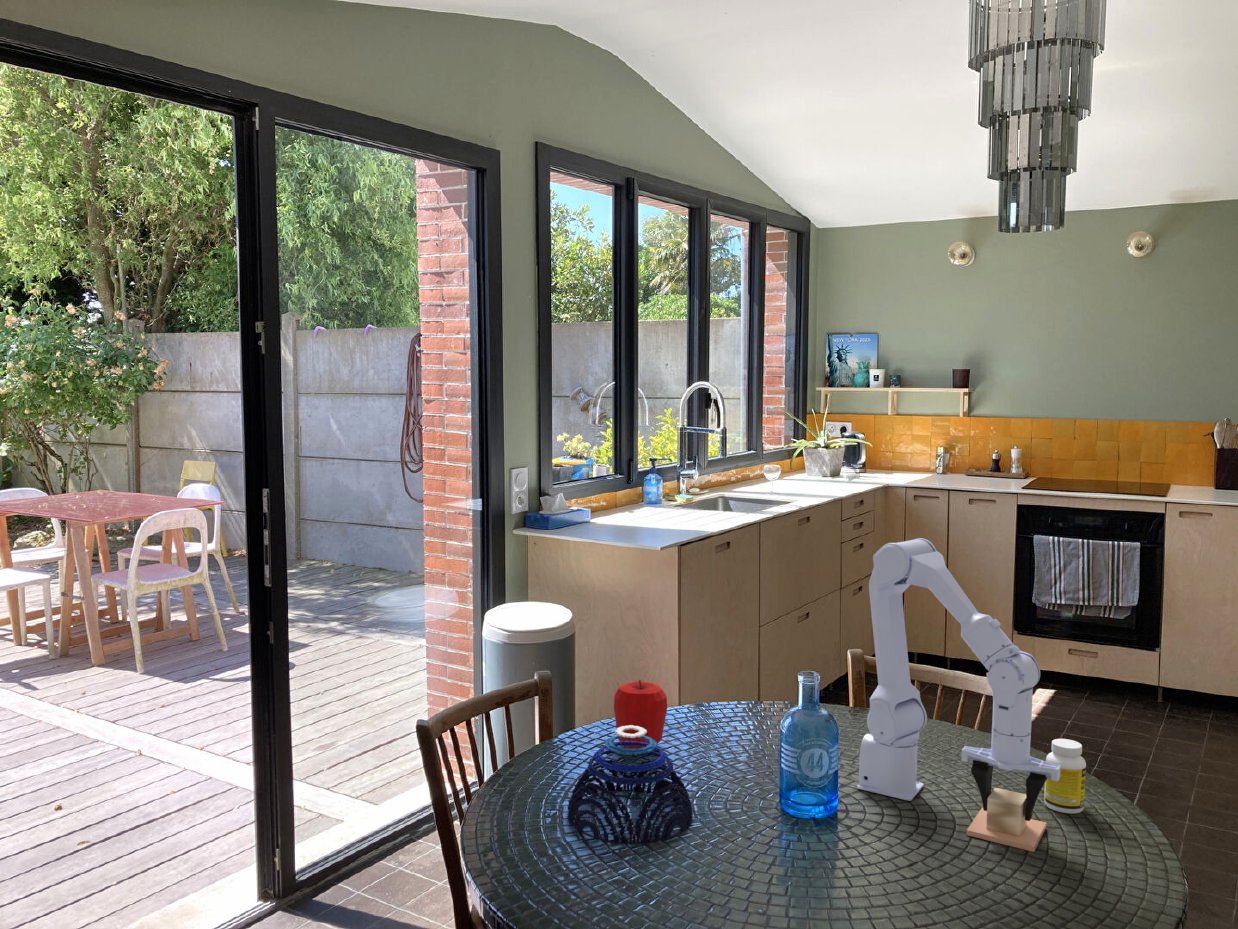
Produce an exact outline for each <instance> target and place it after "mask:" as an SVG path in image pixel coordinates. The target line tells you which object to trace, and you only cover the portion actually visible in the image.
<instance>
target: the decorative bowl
mask: <svg viewBox="0 0 1238 929" xmlns="http://www.w3.org/2000/svg"><path fill="white" fill-rule="evenodd" d="M629 729H634V730H637V731H639V732H637V733H635V734H630V733H628V734H627V733H624V730H629ZM613 732H614V733H615V734H616V735H613V736H610V737H609V738H607V739H606V741H604V746H602V747H600V748H598V750H596V751H595V752H594V755H593V756H591V758H589V761H587V764H588V765H587V768H585V769H584V772H582V774H581V776H580V777H579V779H577V780H578V781H577V782H576V783H575V785H574V788H573V789H572V791H571V792H572V794H571V795H570V798H569V801H568V805H567V810H568V813H567V818H568V821H569V824H570V825H571V826H573V827H574V829H575V830H576V831H577V832H579V833H581V834H584V835H586V836H588V837H591V838H593V839H595V840H596V841H597V840H598V841H602V842H607V843H608V842H609V843H612V844H613V843H614V844H621V845H625V844H629V845H632V844H633V845H634V844H637V845H639V844H641V845H642V844H648V843H649V844H651V843H657V842H660V841H664V840H665V841H666V840H669V839H671V838H675V837H676V836H678V835H680V834H683V832H684V831H686V830H687V828H688V827H689V826H690V825H691V823H692V821H693V806H692V802H691V799H690V793H688V792H689V791H687V789H686V786H685V783H683V781H682V778H681V777H680V775H678V774H677V772H676V771H674V763H673V762H672V761H671V759H670V758H669V757H668V754H667V753H666V751H664V750H662V748H661V747H659V746H658V744H657V742H655V741H654V740H653V739H652V738H650V737H647V736H644V735H645V734H646V733H647V730H646V729H644V728H642V727H639V726H633V725H629V726H622V727H619V728H617V727H616V730H614V731H613ZM621 737H622V738H623V737H627V738H636V737H638V738H644V739H645V740H647V741H649V743H644V742H636V741H635V742H634V741H627V740H626V741H624V742H623V741H622V742H620V741H616V740H618V738H621ZM625 745H635V746H636V745H637V746H644V747H642V748H625V747H624V746H625ZM621 746H622V747H621ZM604 750H605V751H604ZM654 750H656V751H654ZM610 754H611V755H613V754H619V755H620V754H622V755H626V756H632V755H635V756H637V755H642V754H643V755H650V756H652V755H653V756H655V757H657V758H656V759H654V760H651V759H648V760H642V761H641V762H638V763H637V764H636V763H635V764H624V763H621V762H618V761H615V760H614V759H613V758H612V759H606V757H605V756H604V755H607V756H608V755H610ZM594 762H595V763H594ZM666 764H667V765H666ZM604 769H605V770H606V771H608V773H611V775H610V774H608V773H606V772H605V770H604ZM629 772H630V774H627V773H629ZM618 773H619V774H620V775H621V776H619V775H618ZM602 780H603V781H604V782H603V781H602ZM593 781H595V782H596V783H597V784H596V783H594V782H593ZM604 783H605V784H604ZM653 783H654V786H653V787H652V785H653ZM615 784H616V785H615ZM646 784H647V786H646ZM621 785H623V786H621ZM634 785H635V786H634ZM652 788H653V789H652ZM645 789H646V790H645ZM626 791H627V792H639V793H640V792H643V793H644V792H645V793H647V794H651V796H648V798H647V799H646V801H644V803H643V805H642V808H640V810H639V813H638V815H637V818H636V822H635V826H634V827H633V825H634V822H633V819H632V818H631V816H632V815H631V814H630V812H629V811H628V806H626V804H625V803H624V802H623V801H622V799H620V798H619V797H617V796H618V794H616V792H626ZM605 793H606V794H608V795H609V796H610V797H612V799H613V800H615V802H616V803H614V802H613V801H612V800H611V799H610V797H607V796H603V794H605ZM583 797H584V798H583ZM591 797H597V798H599V799H601V800H602V801H603V802H604V804H602V802H601V801H598V800H595V799H593V798H591ZM670 801H672V802H673V803H670V804H666V802H670ZM654 803H656V805H655V806H654V808H653V809H652V810H651V812H650V813H649V816H648V818H647V821H646V823H645V819H646V817H647V813H648V810H649V809H651V807H652V806H653V804H654ZM677 804H678V806H675V805H677ZM584 805H593V806H595V807H596V808H597V809H598V810H599V812H602V814H603V815H604V816H603V819H604V821H605V823H606V825H607V826H609V827H610V829H609V832H611V833H610V835H611V836H613V839H609V833H608V831H607V828H606V825H605V824H604V822H603V820H602V818H600V817H599V815H598V814H597V813H596V812H593V811H591V810H588V809H583V810H580V811H579V809H580V808H581V806H584ZM604 805H606V806H607V808H608V810H609V812H611V814H612V815H613V817H614V819H615V821H617V823H616V824H617V826H618V829H619V834H618V830H616V828H615V827H614V823H613V821H612V818H610V816H609V814H608V810H607V808H606V807H604ZM667 808H670V810H668V811H667V812H664V811H665V810H666V809H667ZM617 809H618V810H619V812H620V813H619V812H618V810H617ZM578 811H579V812H578ZM675 811H679V812H677V813H675V814H672V813H674V812H675ZM577 812H578V813H577ZM663 813H664V814H663ZM670 814H672V815H670ZM586 815H589V816H591V817H593V818H595V820H596V821H597V823H598V825H600V828H601V830H602V832H603V836H602V837H600V836H601V835H600V833H599V832H600V831H599V829H598V827H597V825H596V823H594V822H593V821H590V820H587V819H585V818H583V819H581V818H582V817H583V816H586ZM660 817H661V819H660V822H659V823H658V821H659V818H660ZM668 817H669V818H668ZM654 818H655V820H654ZM622 819H623V820H624V822H625V824H627V826H626V825H624V824H623V820H622ZM666 819H667V821H666ZM653 820H654V821H653ZM652 821H653V822H652ZM665 821H666V823H665ZM644 823H645V824H646V825H645V826H644V830H643V828H642V825H644ZM657 823H658V825H657ZM664 823H665V824H664ZM662 826H663V827H662ZM676 826H677V827H678V828H679V830H678V831H676V832H674V833H673V831H674V829H675V827H676ZM586 827H588V828H589V830H590V831H591V832H592V834H590V833H587V832H585V830H584V829H585V828H586ZM633 828H634V829H635V833H634V829H633ZM625 829H626V831H627V834H628V837H629V839H628V838H626V835H624V834H625ZM661 829H662V831H661ZM642 830H643V834H642V838H641V833H642ZM649 830H650V832H649ZM660 833H661V837H660ZM672 833H673V834H672Z"/></svg>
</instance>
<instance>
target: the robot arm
mask: <svg viewBox="0 0 1238 929" xmlns="http://www.w3.org/2000/svg"><path fill="white" fill-rule="evenodd" d="M872 560H873V568H872V571H871V572H872V573H871V575H870V578H869V581H868V592H869V593H868V595H869V604H870V614H871V623H872V624H871V625H872V632H873V633H872V634H873V635H872V636H873V644H874V653H875V654H874V655H875V656H874V657H875V666H876V675H877V676H876V677H877V683H878V685H877V687H875V690H874V691H873V693H872V695H871V696H870V697H869V710H868V714H867V716H866V717H867V718H866V723H867V724H866V725H867V729H868V731H869V733H865V735H864V736H863V738H862V739H861V742H860V748H859V761H858V762H859V764H858V766H859V768H858V784H857V786H856V787H857V789H858V790H862V791H867V792H870V793H876V794H879V795H883V796H886V797H887V796H888V797H892V798H895V799H900V800H904V801H909V802H910V801H912V800H913V799H914V798H915V796H916V795H918V793H920V791H921V790H922V788H923V787H924V783H923V782H920V781H917V776H918V775H917V774H918V773H917V771H918V749H919V748H918V746H919V745H918V744H919V739H920V732H921V731H922V730H923V729H924V728H925V727H926V725H927V721H928V715H927V711H926V709H925V707H924V705H923V703H922V700H921V692H920V691H919V690H918V689H917V687H916V686H914V685H913V684H912V682H911V674H910V673H911V672H910V663H909V655H908V654H909V653H908V651H909V650H908V641H907V633H906V623H905V612H904V604H903V593H905V591H906V590H907V589H908V588H909V587H910V586H915V587H921V588H924V589H928V590H929V591H930V592H931V593H932V594H933V596H934V597H935V598H936V599H937V600H938V601H939V602H940V603H941V604H942V606H944V608H946V610H947V611H948V612H949V613H950V614H951V615H952V617H953V618H954V619H955V620H956V621H957V622H958V623H959V624H960V637H961V638H962V640H963V641H964V642H965V643H966V645H967V646H968V647H969V648H970V650H971V651H972V653H973V654H974V655H975V657H976V658H977V659H978V661H979V662H981V664H982V665H983V666H984V667H985V669H986V670H987V672H986V673H985V674H986V680H987V683H988V685H989V687H990V688H991V690H992V719H991V720H992V724H991V744H990V748H982V747H975V746H966V745H963V746H964V747H962V749H961V754H960V755H961V757H960V758H961V759H960V761H961V762H964V763H969V762H971V763H972V765H971V767H970V772H971V775H972V776H973V779H974V781H975V783H976V785H977V788H978V790H979V795H980V797H981V802H982V803H981V804H982V808H983V810H984V811H987V802H988V797H989V796H990V794H991V793H992V780H993V771H994V767H995V768H997V769H1001V770H1005V771H1014V772H1019V773H1024V774H1029V776H1028V777H1027V778H1026V780H1025V787H1026V789H1025V790H1026V792H1025V794H1026V809H1025V820H1026V821H1030V820H1031V819H1032V818H1033V814H1034V809H1035V805H1036V803H1037V802H1036V801H1037V800H1038V798H1039V796H1040V793H1041V790H1042V789H1043V787H1044V786H1045V782H1046V780H1047V778H1050V779H1051V780H1053V781H1058V780H1059V778H1060V767H1061V766H1060V765H1056V764H1052V763H1048V762H1046V760H1043V759H1039V758H1036V757H1033V756H1031V740H1032V738H1031V737H1032V736H1031V735H1032V734H1031V733H1032V719H1033V718H1032V717H1033V716H1032V714H1033V697H1034V696H1033V692H1034V691H1033V690H1034V688H1033V687H1034V686H1036V685H1037V684H1038V682H1039V681H1040V679H1041V668H1040V666H1039V664H1038V662H1037V660H1036V659H1035V657H1034V656H1033V655H1032V654H1030V653H1028V652H1027V651H1022V650H1021V649H1020V648H1019V646H1017V645H1015V643H1013V641H1012V640H1011V639H1010V638H1009V637H1008V636H1007V634H1006V633H1005V632H1004V631H1003V629H1001V625H1002V623H1001V622H1000V621H999V620H998V619H997V618H994V619H993V617H992V616H991V615H989V614H984V613H980V612H979V611H978V609H976V606H974V603H972V601H971V600H970V599H969V597H968V596H967V595H966V593H965V592H964V590H963V589H962V587H961V586H960V585H959V583H958V582H957V580H956V578H954V576H953V575H952V573H951V572H950V570H949V569H948V568H947V566H946V562H945V557H944V556H943V554H942V553H941V552H940V551H937V548H936V547H935V545H934V543H933V542H931V540H928V539H926V538H923V537H918V538H914V539H911V540H910V539H909V540H905V541H898V542H888V543H885V544H883V545H882V546H881V547H880V548H879V549H878V550H877V551H876V552H875V553H874V554H873V556H872Z"/></svg>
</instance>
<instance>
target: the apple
mask: <svg viewBox="0 0 1238 929" xmlns="http://www.w3.org/2000/svg"><path fill="white" fill-rule="evenodd" d="M613 709H614V719H615V726H616V729H617V728H619V727H622V726H629V725H633V726H639V727H642V728H644V729H646V730H647V733H646V734H645V735H644V736H647V737H650V738H652V739H653V740H654V741H655V742H657V745H658V744H659V743H660V742H661V741H662V740H663V734H664V729H665V728H664V727H665V721H666V717H667V712H668V711H667V710H668V698H667V694H666V692H665V690H663V688H662V687H661V686H660V685H659V684H656V683H654V682H649V681H641V679H639V680H638V681H635V680H634V681H629V682H626V683H624V684H621V685H620V686H618V688H617V689H616V691H615V693H614V698H613ZM637 732H639V731H637V730H634V729H629V730H624V733H627V734H628V733H630V734H635V733H637ZM617 740H618V742H622V741H623V742H624V741H626V740H627V741H634V742H635V741H636V742H644V743H649V741H647V740H645V739H644V738H638V737H636V738H627V737H623V738H622V737H621V738H618V739H617ZM642 747H644V746H637V745H636V746H635V745H625V746H623V748H642Z"/></svg>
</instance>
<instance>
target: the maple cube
mask: <svg viewBox="0 0 1238 929" xmlns="http://www.w3.org/2000/svg"><path fill="white" fill-rule="evenodd" d="M1025 809H1026V793H1021V792H1017V791H1012V790H1007V789H1004V788H1001V787H1000V788H998V787H994V788H993V790H991V794H990V796H989V797H988V802H987V825H986V829H990V830H994V831H998V832H1002V833H1006V834H1010V835H1014V836H1018V837H1020V836H1021V834H1022V832H1023V830H1024V829H1025V827H1026V825H1027V821H1026V820H1025Z"/></svg>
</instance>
